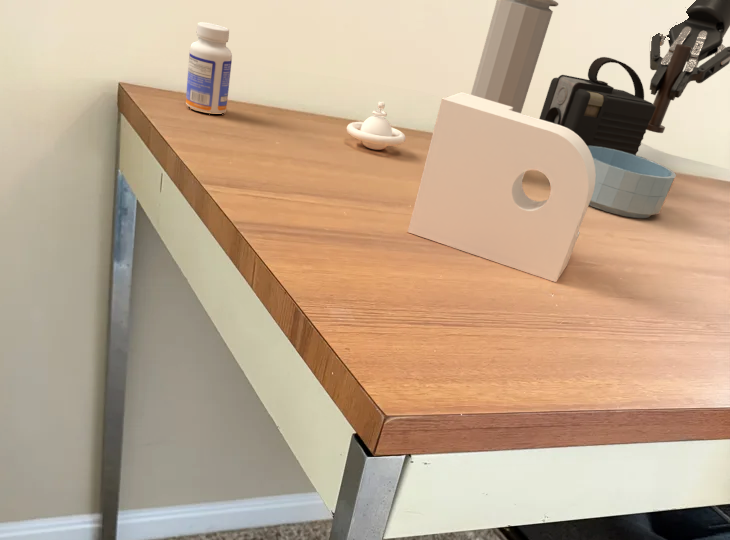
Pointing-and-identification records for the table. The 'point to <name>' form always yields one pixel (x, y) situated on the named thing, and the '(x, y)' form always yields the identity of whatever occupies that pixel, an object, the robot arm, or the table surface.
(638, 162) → the bowl
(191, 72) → the pill bottle
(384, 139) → the ring around a ball
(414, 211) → the white holed block
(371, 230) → the table surface
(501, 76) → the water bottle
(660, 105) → the stirring stick
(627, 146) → the camera
